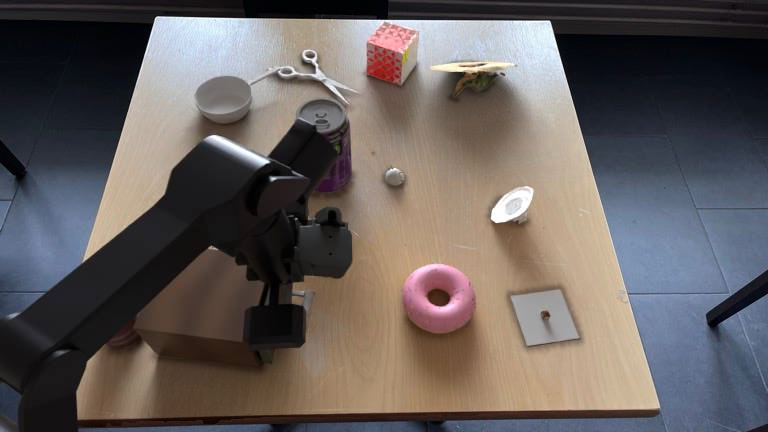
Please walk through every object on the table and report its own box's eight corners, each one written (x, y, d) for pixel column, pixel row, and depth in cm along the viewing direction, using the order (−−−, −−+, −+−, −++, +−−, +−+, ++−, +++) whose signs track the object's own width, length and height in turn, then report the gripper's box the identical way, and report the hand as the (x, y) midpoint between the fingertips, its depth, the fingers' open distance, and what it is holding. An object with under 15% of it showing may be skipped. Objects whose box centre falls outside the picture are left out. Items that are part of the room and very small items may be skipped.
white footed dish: (508, 234, 90) (517, 240, 82) (485, 215, 90) (492, 219, 82) (539, 200, 90) (552, 202, 82) (516, 180, 90) (527, 180, 82)
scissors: (303, 44, 112) (374, 85, 105) (304, 48, 113) (374, 88, 106) (267, 69, 107) (339, 113, 100) (268, 72, 108) (339, 116, 101)
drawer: (320, 294, 78) (316, 268, 71) (304, 368, 71) (298, 347, 65) (203, 279, 79) (189, 252, 72) (177, 351, 72) (158, 329, 66)
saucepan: (189, 104, 102) (183, 88, 99) (268, 68, 109) (265, 52, 106) (215, 135, 97) (210, 120, 94) (296, 96, 104) (294, 80, 101)
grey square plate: (560, 289, 80) (564, 283, 79) (579, 338, 76) (583, 333, 74) (510, 296, 79) (513, 290, 78) (527, 345, 75) (530, 341, 73)
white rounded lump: (390, 169, 93) (391, 159, 91) (409, 179, 92) (410, 169, 90) (380, 180, 92) (380, 170, 90) (399, 190, 91) (400, 181, 89)
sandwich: (462, 82, 117) (469, 47, 114) (516, 100, 109) (526, 63, 105) (409, 91, 105) (414, 52, 102) (465, 112, 97) (473, 71, 93)
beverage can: (354, 194, 90) (352, 132, 78) (302, 198, 89) (292, 137, 77) (349, 156, 95) (347, 92, 83) (301, 159, 94) (291, 96, 82)
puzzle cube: (400, 85, 107) (403, 53, 100) (366, 74, 108) (366, 41, 102) (416, 63, 111) (419, 31, 104) (383, 52, 113) (384, 20, 106)
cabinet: (281, 288, 79) (272, 256, 71) (260, 369, 72) (247, 343, 64) (188, 277, 80) (169, 243, 72) (158, 355, 73) (132, 328, 65)
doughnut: (422, 260, 83) (424, 246, 79) (485, 292, 80) (490, 279, 76) (387, 314, 77) (388, 302, 74) (454, 351, 74) (458, 340, 71)
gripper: (345, 319, 47) (358, 361, 60) (342, 152, 56) (354, 221, 70) (222, 327, 47) (263, 367, 61) (239, 158, 56) (272, 226, 70)
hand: (292, 290), depth 65 cm, fingers open, 9 cm apart
